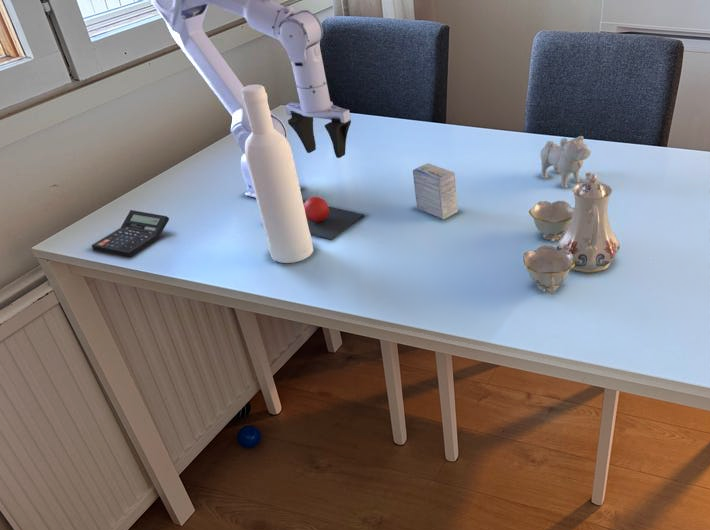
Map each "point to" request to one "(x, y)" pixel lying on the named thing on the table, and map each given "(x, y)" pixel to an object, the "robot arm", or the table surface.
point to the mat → (333, 223)
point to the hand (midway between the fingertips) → (326, 153)
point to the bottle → (275, 182)
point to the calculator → (133, 234)
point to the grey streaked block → (435, 190)
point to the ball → (316, 209)
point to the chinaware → (573, 236)
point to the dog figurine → (564, 158)
